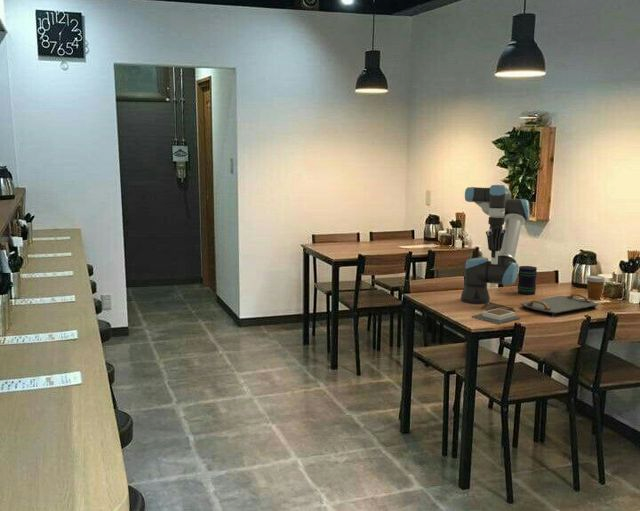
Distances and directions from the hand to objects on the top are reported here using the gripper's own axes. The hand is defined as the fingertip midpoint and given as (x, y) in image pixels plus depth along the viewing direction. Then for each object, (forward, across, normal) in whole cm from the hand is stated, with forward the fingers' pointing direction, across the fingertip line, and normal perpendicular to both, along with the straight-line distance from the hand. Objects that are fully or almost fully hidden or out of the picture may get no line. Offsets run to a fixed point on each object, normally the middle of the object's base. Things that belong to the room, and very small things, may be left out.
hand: (494, 263), depth 311 cm
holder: (+24, +4, -1) cm, 25 cm away
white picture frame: (+23, -13, -9) cm, 28 cm away
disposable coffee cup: (+25, +69, -16) cm, 75 cm away
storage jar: (+25, +50, +14) cm, 57 cm away
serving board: (+25, +33, -17) cm, 45 cm away
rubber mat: (+24, -9, -9) cm, 28 cm away
